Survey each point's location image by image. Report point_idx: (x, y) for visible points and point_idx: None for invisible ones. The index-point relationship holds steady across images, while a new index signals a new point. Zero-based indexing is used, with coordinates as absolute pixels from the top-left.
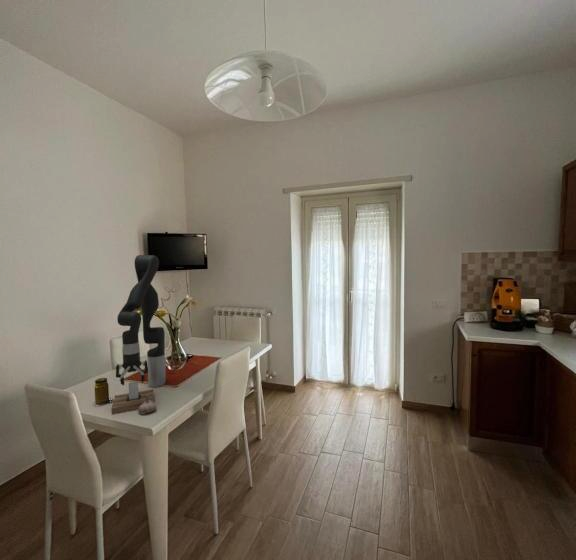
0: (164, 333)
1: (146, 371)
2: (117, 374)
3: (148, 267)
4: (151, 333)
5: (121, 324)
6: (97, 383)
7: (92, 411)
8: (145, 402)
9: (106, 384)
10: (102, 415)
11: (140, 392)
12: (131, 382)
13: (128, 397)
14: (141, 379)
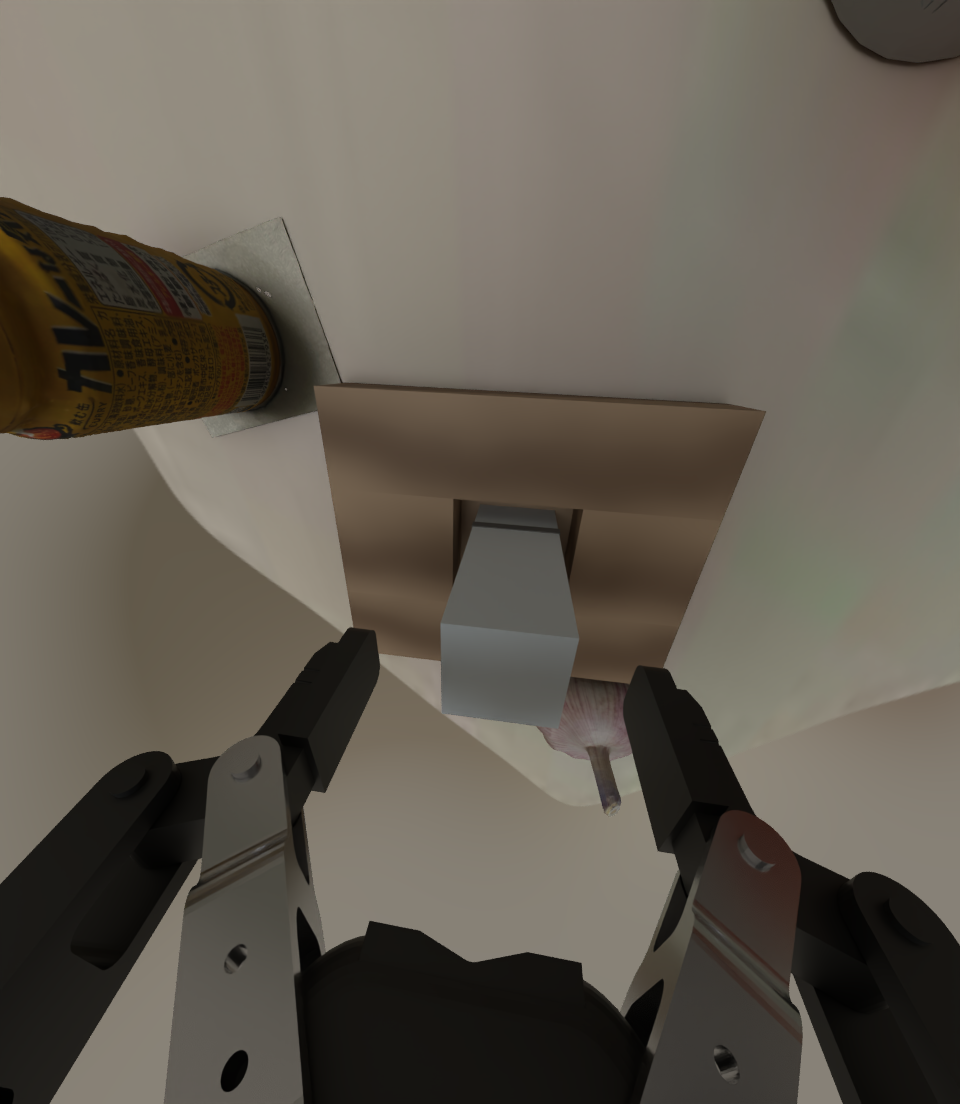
0: None
1: (830, 997)
2: (143, 904)
3: None
4: None
5: None
6: None
7: (226, 510)
8: (585, 746)
9: (62, 385)
10: (321, 604)
11: (591, 445)
12: (477, 635)
13: (462, 495)
14: (635, 759)
